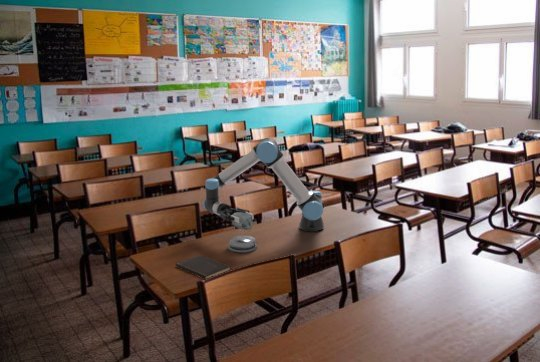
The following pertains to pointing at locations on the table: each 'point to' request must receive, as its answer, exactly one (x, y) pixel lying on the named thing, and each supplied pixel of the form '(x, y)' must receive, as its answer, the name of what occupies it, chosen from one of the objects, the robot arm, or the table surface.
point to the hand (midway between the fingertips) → (245, 218)
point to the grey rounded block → (243, 221)
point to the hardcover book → (203, 266)
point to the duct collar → (242, 244)
